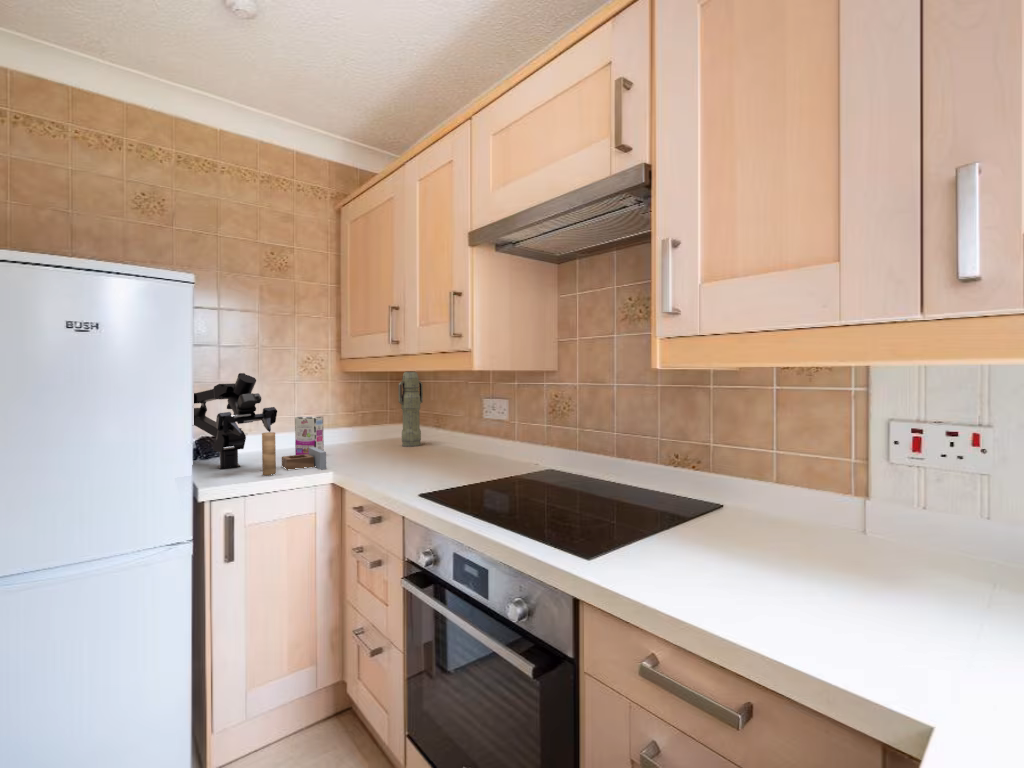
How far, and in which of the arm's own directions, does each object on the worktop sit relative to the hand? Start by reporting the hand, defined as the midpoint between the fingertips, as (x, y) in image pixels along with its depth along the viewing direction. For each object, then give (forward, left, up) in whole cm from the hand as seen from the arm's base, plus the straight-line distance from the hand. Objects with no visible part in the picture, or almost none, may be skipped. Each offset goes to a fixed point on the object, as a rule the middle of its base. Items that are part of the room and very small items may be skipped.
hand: (255, 432), depth 165 cm
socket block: (-4, +14, -14) cm, 20 cm away
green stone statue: (-29, +70, -14) cm, 77 cm away
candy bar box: (-28, +24, -14) cm, 40 cm away
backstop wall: (-1, +20, -14) cm, 24 cm away
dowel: (+5, +3, -14) cm, 15 cm away
